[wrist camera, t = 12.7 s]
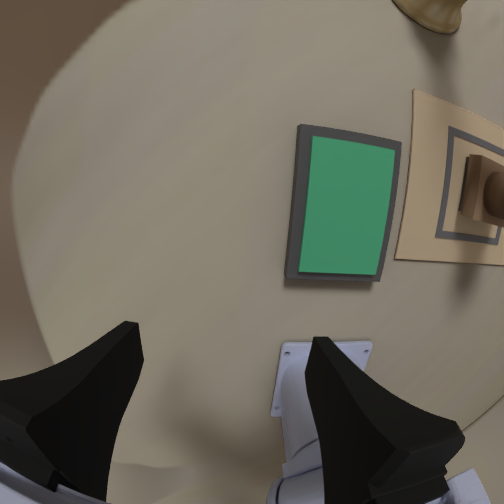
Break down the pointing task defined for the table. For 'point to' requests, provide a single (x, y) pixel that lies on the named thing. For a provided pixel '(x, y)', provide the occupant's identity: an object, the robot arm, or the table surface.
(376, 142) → the ink pad
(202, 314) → the table surface
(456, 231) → the plate
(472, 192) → the stamp
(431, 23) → the hand bell
